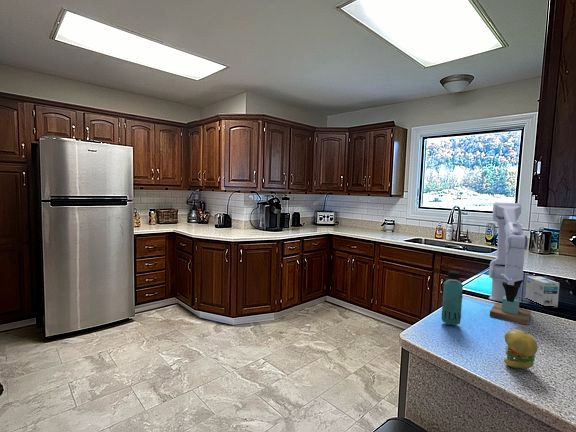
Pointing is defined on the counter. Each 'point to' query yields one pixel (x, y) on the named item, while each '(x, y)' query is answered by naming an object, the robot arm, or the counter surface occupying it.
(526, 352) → the hamburger
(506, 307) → the teal cube
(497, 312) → the walnut base
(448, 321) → the beverage bottle
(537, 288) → the light bulb box
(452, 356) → the counter surface
